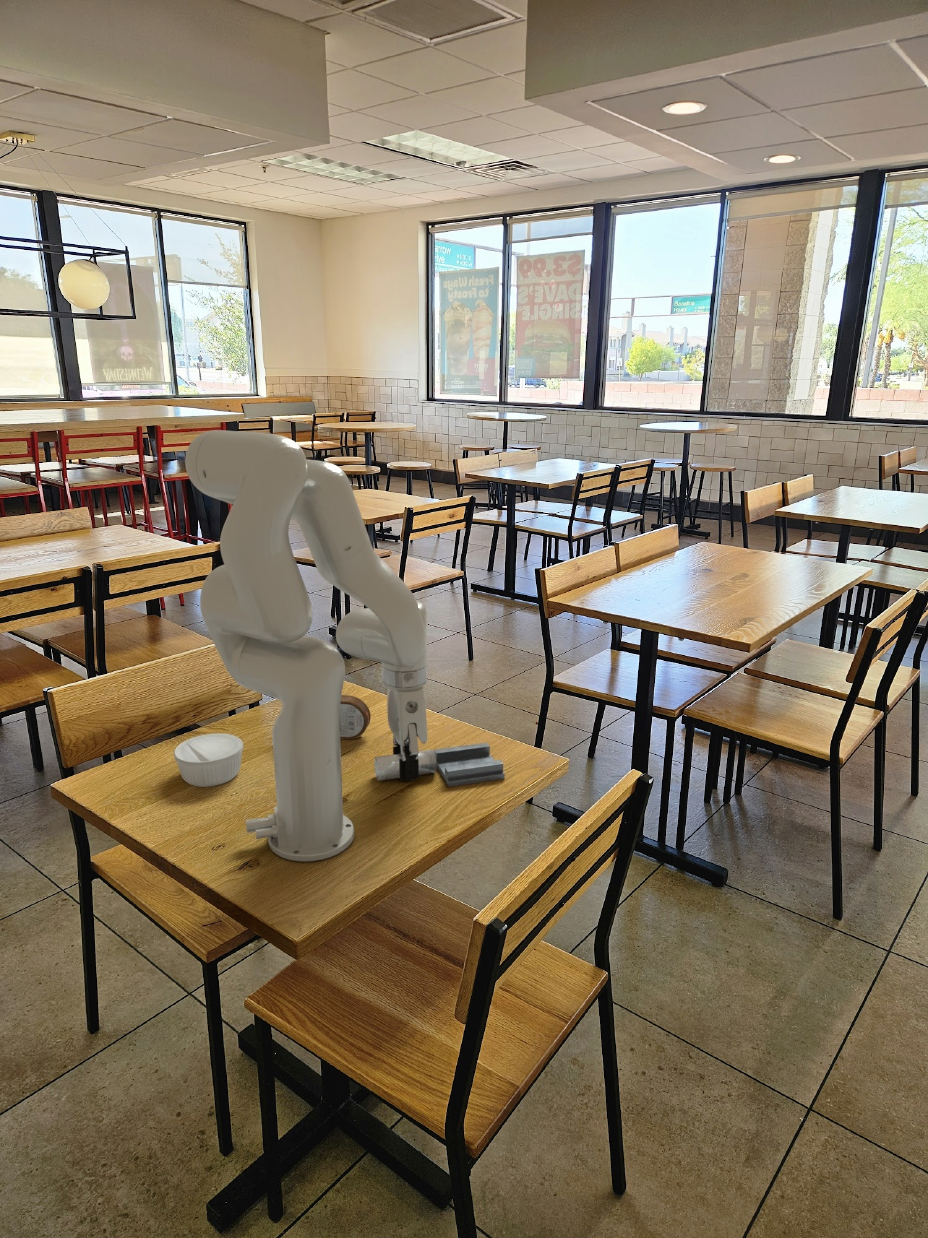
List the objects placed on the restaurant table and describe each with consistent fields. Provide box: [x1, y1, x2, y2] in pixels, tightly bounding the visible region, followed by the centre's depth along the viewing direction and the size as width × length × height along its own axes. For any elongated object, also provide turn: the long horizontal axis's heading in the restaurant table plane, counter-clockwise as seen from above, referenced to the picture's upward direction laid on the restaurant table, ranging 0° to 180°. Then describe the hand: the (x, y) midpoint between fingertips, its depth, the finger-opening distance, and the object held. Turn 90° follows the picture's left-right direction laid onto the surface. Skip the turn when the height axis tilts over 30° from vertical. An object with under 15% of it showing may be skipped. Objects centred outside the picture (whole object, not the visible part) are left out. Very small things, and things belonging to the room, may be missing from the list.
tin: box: [340, 694, 372, 740], centre depth 153 cm, size 15×3×8 cm, turn 84°
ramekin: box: [173, 732, 244, 788], centre depth 139 cm, size 11×11×5 cm
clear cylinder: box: [373, 749, 437, 782], centre depth 139 cm, size 10×4×4 cm, turn 108°
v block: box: [433, 742, 506, 788], centre depth 141 cm, size 10×10×2 cm
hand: (405, 772), depth 139 cm, fingers closed on clear cylinder, 4 cm apart
